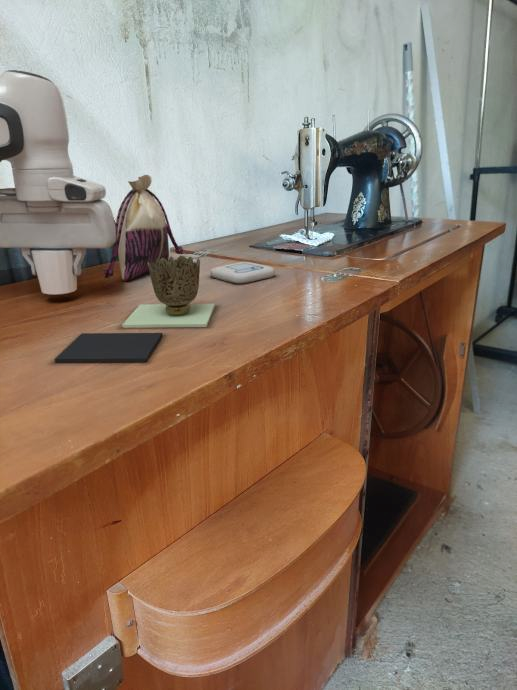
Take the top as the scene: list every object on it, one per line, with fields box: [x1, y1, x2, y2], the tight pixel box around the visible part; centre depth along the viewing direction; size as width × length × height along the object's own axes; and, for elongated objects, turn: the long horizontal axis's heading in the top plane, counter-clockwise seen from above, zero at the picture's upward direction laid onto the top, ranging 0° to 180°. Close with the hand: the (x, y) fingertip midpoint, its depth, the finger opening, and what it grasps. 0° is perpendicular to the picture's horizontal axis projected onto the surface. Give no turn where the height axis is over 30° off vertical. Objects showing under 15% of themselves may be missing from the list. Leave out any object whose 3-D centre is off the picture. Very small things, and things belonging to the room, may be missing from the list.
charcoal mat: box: [54, 332, 163, 364], centre depth 65 cm, size 11×9×1 cm
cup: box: [148, 254, 201, 316], centre depth 76 cm, size 8×7×8 cm
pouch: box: [103, 174, 184, 282], centre depth 102 cm, size 25×8×19 cm, turn 162°
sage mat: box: [121, 303, 216, 329], centre depth 77 cm, size 12×10×1 cm
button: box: [210, 261, 276, 285], centre depth 100 cm, size 10×2×10 cm
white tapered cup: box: [31, 248, 78, 295], centre depth 86 cm, size 7×7×7 cm
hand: (57, 274), depth 86 cm, fingers closed on white tapered cup, 5 cm apart
